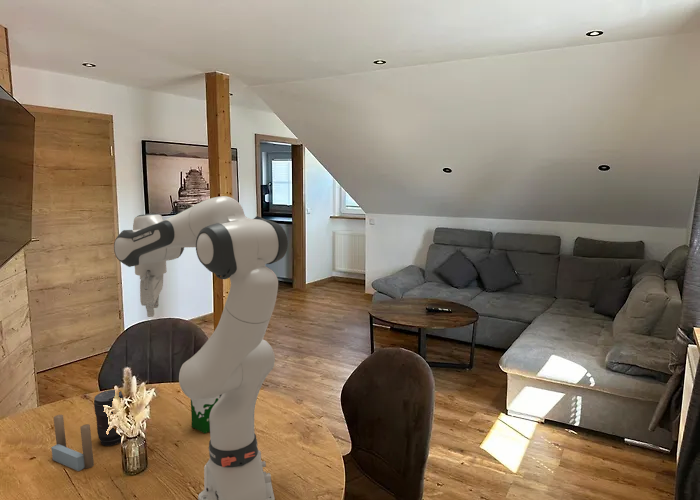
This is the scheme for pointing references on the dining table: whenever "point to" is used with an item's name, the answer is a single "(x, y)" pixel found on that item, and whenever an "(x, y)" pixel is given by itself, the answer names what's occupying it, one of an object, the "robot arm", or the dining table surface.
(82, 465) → the peg rail
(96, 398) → the camera lens
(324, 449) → the dining table surface
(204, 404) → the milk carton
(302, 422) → the dining table surface
